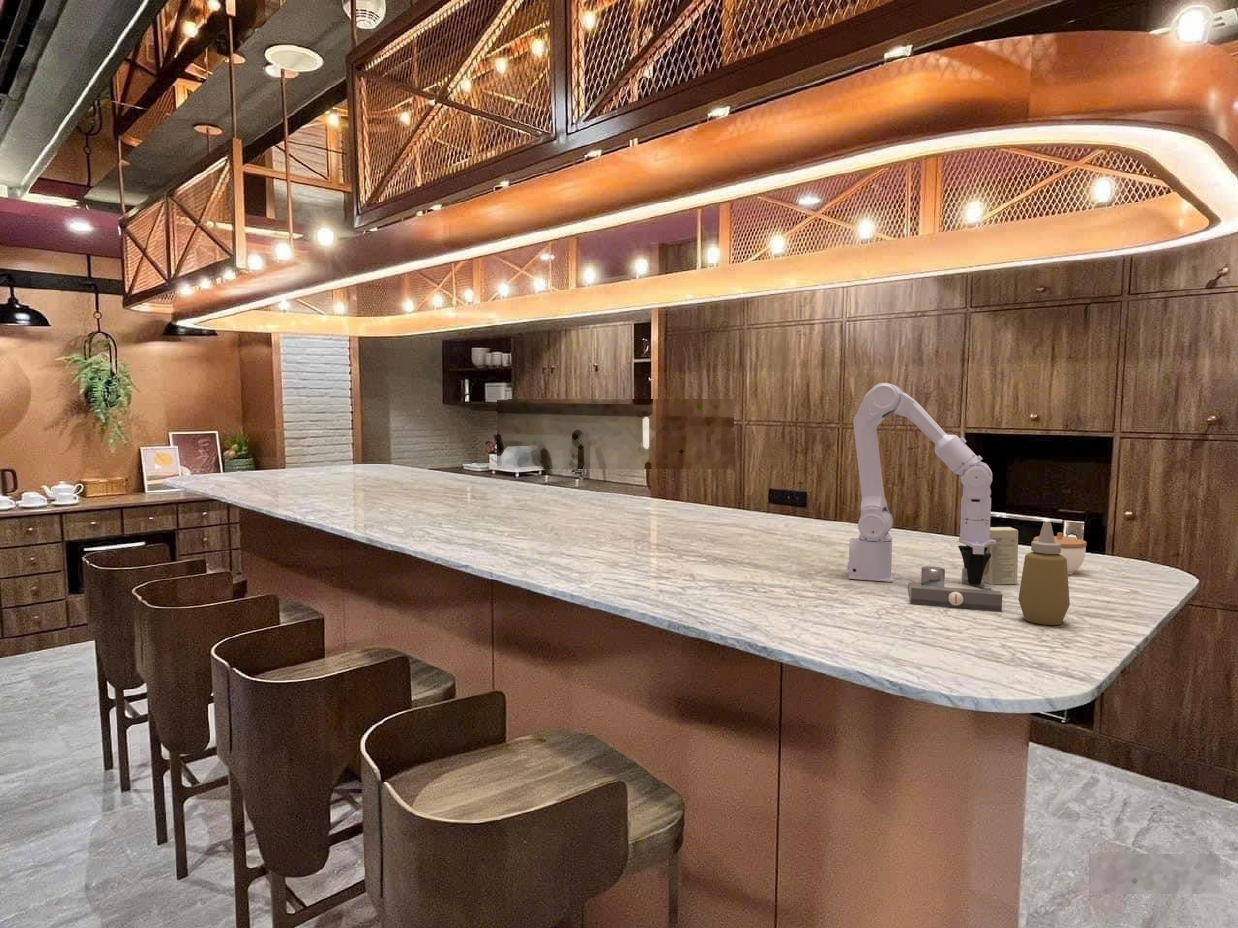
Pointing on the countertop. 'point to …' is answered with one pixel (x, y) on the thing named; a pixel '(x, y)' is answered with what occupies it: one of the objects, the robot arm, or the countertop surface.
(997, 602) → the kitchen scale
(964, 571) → the cylinder
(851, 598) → the countertop surface
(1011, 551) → the skincare box
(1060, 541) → the lidded jar
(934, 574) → the block
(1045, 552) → the squeeze bottle
